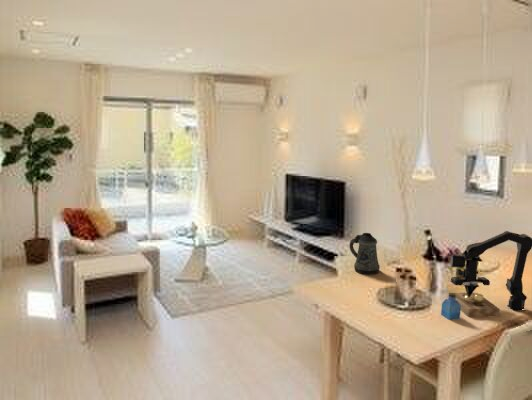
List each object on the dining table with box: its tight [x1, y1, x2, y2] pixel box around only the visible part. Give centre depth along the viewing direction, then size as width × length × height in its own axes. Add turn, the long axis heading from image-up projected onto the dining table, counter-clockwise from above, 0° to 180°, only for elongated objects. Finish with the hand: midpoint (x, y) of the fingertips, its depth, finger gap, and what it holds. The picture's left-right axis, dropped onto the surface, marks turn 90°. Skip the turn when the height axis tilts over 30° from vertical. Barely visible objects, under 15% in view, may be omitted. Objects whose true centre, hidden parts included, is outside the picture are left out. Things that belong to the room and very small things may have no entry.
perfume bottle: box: [440, 292, 462, 320], centre depth 217 cm, size 6×6×12 cm
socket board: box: [447, 292, 501, 318], centre depth 229 cm, size 16×22×4 cm
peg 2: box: [474, 293, 484, 304], centre depth 223 cm, size 4×4×4 cm
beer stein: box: [348, 232, 381, 276], centre depth 285 cm, size 16×19×25 cm
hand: (468, 296), depth 234 cm, fingers closed
